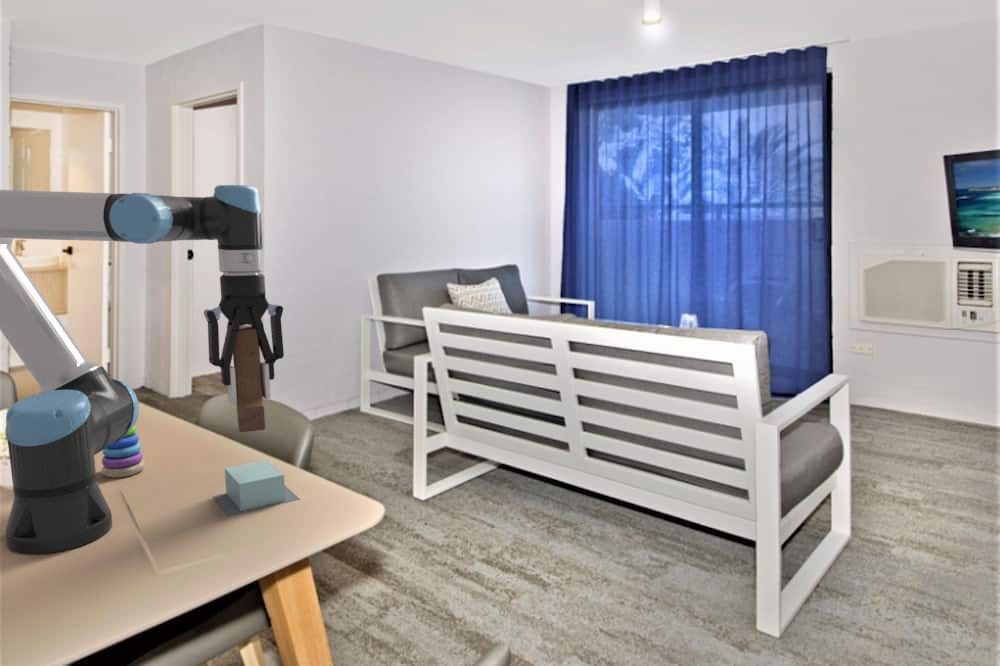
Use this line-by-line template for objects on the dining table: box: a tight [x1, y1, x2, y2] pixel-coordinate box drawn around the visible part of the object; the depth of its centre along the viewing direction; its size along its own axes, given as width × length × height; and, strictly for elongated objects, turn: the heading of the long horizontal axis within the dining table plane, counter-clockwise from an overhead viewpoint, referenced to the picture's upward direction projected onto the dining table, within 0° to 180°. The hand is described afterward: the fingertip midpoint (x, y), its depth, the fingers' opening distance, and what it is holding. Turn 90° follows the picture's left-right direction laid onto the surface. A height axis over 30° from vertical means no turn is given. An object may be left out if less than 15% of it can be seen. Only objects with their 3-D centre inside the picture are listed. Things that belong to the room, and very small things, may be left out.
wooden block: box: [232, 325, 267, 433], centre depth 129 cm, size 9×4×18 cm, turn 22°
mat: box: [212, 485, 301, 517], centre depth 133 cm, size 13×11×1 cm
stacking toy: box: [101, 425, 146, 479], centre depth 146 cm, size 8×8×19 cm
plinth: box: [224, 459, 286, 511], centre depth 133 cm, size 8×10×5 cm
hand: (249, 399), depth 130 cm, fingers closed on wooden block, 5 cm apart
